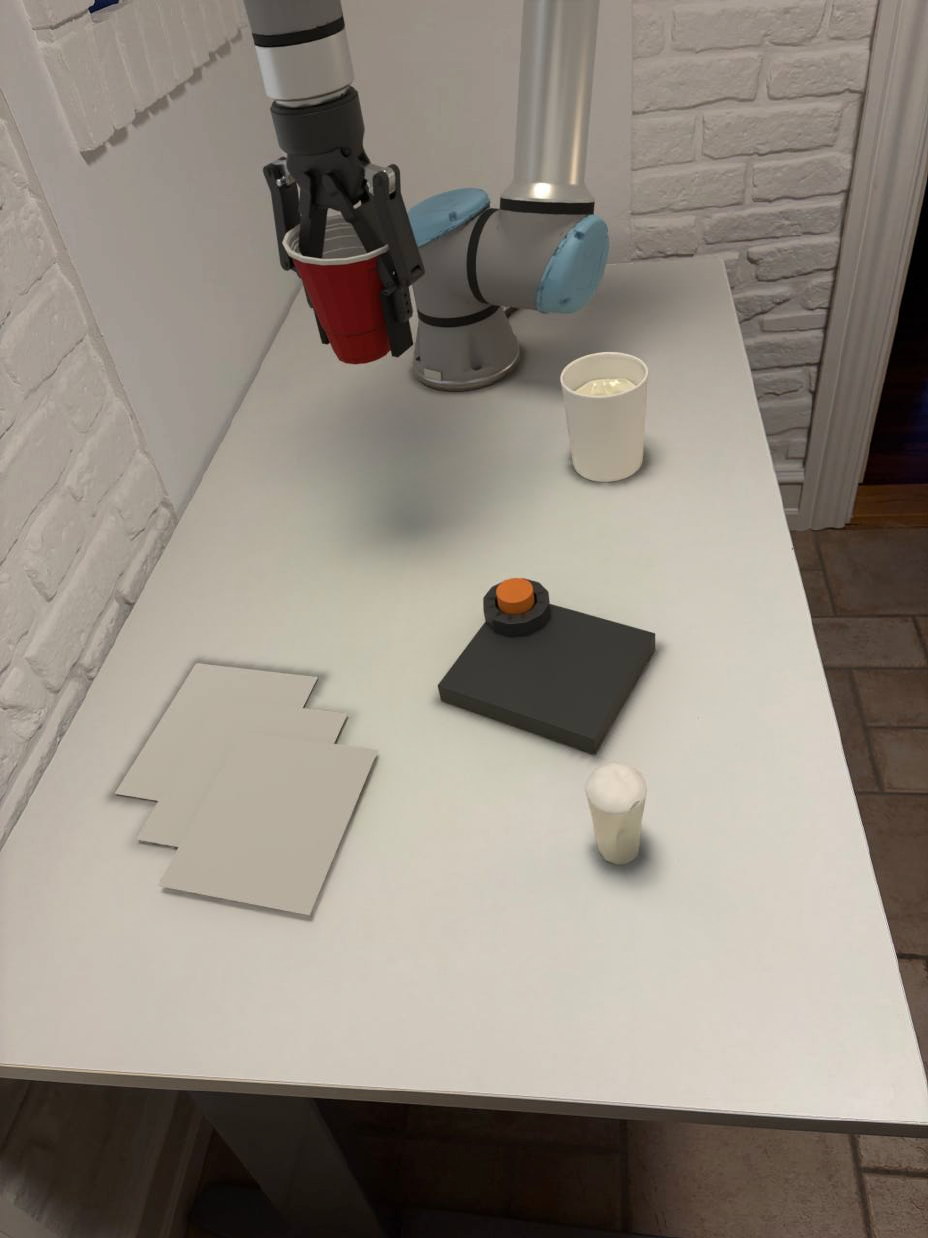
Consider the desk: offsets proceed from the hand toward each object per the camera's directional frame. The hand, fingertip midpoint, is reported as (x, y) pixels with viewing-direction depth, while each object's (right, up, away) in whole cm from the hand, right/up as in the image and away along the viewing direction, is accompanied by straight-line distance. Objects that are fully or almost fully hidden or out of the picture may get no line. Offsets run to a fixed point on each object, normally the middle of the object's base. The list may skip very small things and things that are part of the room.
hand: (367, 343), depth 95 cm
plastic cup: (0, -1, +1) cm, 1 cm away
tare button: (+15, -26, -1) cm, 30 cm away
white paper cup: (+27, -9, +20) cm, 35 cm away
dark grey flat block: (+18, -33, -3) cm, 37 cm away
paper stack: (-10, -42, -7) cm, 44 cm away
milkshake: (+22, -46, -18) cm, 54 cm away
